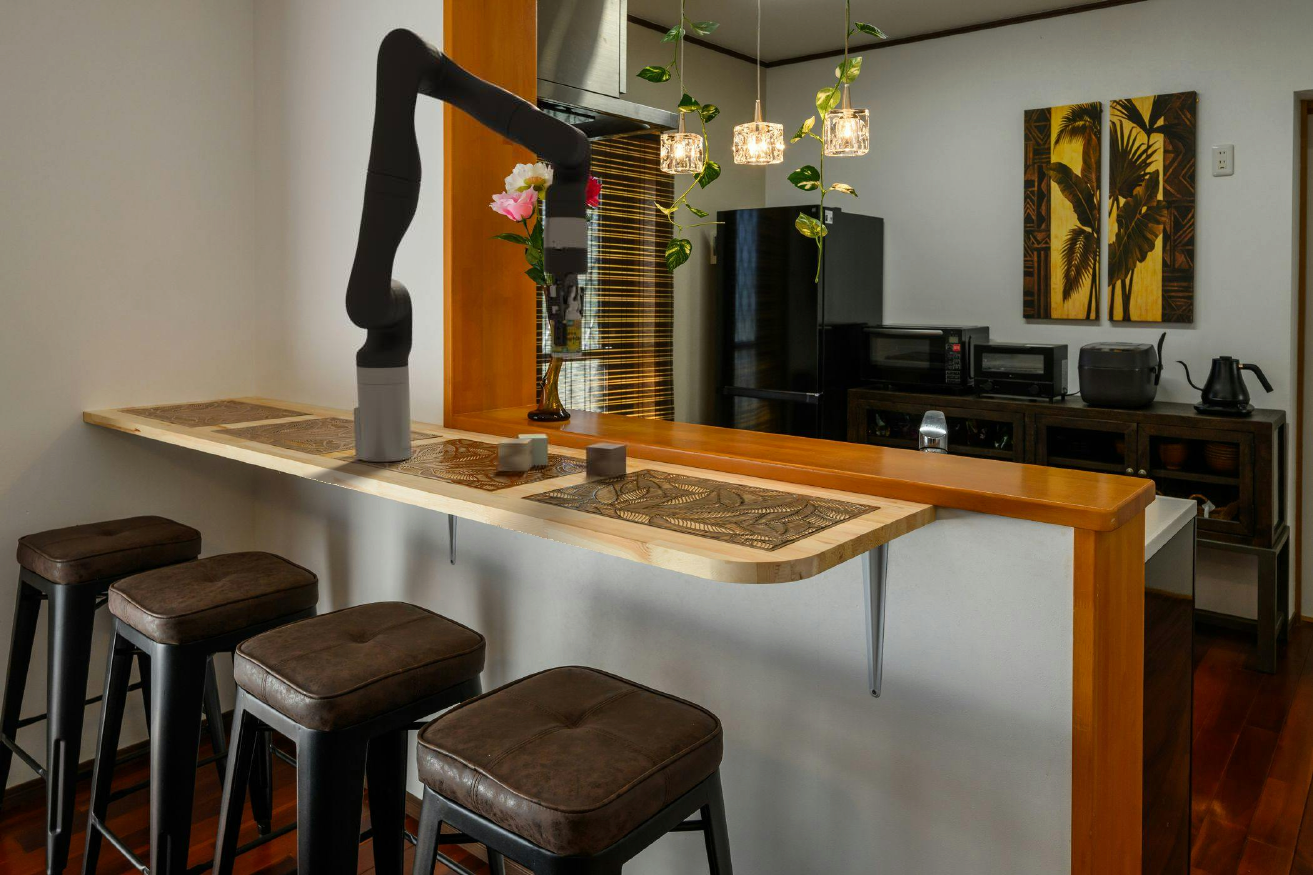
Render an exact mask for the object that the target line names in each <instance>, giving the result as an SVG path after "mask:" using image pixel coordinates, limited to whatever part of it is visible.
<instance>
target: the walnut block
mask: <svg viewBox="0 0 1313 875" xmlns="http://www.w3.org/2000/svg"><path fill="white" fill-rule="evenodd" d="M585 467H586V468H585V475H586V476H593V477H600V478H610V479H611V478H615V477H618V476H621V475H624V474H627V444H618V443H608V442H598V443H594V444H591V445H587V446H585Z"/></svg>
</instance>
